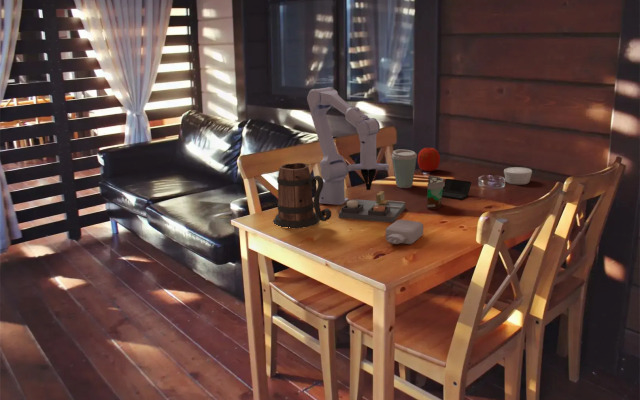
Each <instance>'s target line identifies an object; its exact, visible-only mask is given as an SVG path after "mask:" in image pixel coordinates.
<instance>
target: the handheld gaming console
mask: <svg viewBox="0 0 640 400" xmlns="http://www.w3.org/2000/svg"><path fill="white" fill-rule="evenodd" d="M444 183H445V186H444V187H443V191H442V198H445V199H451V200H458V201H463V200H464V199H466V198H468V196H469V193H470V190H471V189H470V188H471V186H472V181H468V180H461V179H460V180H459V179H453V178H446V179H445V180H444Z"/></svg>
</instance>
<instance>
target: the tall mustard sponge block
mask: <svg viewBox="0 0 640 400" xmlns="http://www.w3.org/2000/svg"><path fill="white" fill-rule="evenodd" d="M375 196H376V199H375V201H376V203H377V205H386V204H387V203H388V201H389V200H388V199H387V200H386V199H385V191H382V190H379V192H378V193H376V195H375Z"/></svg>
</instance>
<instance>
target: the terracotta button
mask: <svg viewBox="0 0 640 400" xmlns="http://www.w3.org/2000/svg"><path fill="white" fill-rule="evenodd" d="M374 211H383V212H384V211H385V206H381V205H377V206H374Z"/></svg>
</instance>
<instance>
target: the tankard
mask: <svg viewBox="0 0 640 400" xmlns="http://www.w3.org/2000/svg"><path fill="white" fill-rule="evenodd" d="M277 175H278V176H277V177H276V178H277V214H276V215H275V218H274V219H273V220H272V223H273V222H274V224H276V225H278V226H281V227H280V228H282V227H288V228H287V229H292V228H295V229H304V228H303V227H305V228H310V227H312V226H315V225H318V224H319V222H320V221H321V222H326V221H327V220H330V218H331V217H332V211H331V209H329V208H324V209H321V207H320V206H321V205H320V204H321V203H319V202H320V193H321V191H322V188H323V177H322V176H320V175H314V176H312V175H311V172H310V168H309V165H308V164H307V163H305V162H304V163H303V162H296V163H284V164H282V165H280V166H279V168H278V174H277ZM316 184H317V185H316ZM312 190H315V192H314V198H313V191H312ZM274 224H273V225H274ZM276 225H275V226H276ZM278 226H277V227H278ZM309 226H310V227H309ZM289 227H290V228H289Z"/></svg>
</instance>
